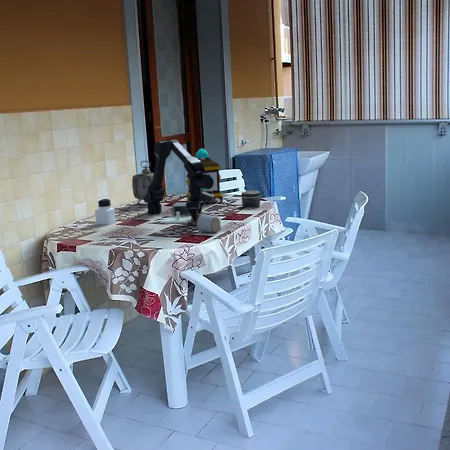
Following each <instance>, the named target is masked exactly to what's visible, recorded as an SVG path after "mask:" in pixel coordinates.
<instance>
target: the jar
mask: <svg viewBox="0 0 450 450" xmlns="http://www.w3.org/2000/svg"><path fill="white" fill-rule="evenodd" d="M240 197H241V204H242V206H243V208H245V207H250V208H249V209H252V208H251V207H254V208H258V206H259V207H260V205H261V192H260V191H259V190H245V191H242V192H241V196H240Z"/></svg>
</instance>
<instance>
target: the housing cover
mask: <svg viewBox="0 0 450 450" xmlns="http://www.w3.org/2000/svg"><path fill="white" fill-rule="evenodd" d="M187 202H188V201H186V202H185V201H182V202H180V201H179V202H176V203H173V204H172V207H171V208H172V214H173V216H175V215H176V212H189V211H188V209H187V208H186V203H187ZM190 215H191V214H190Z"/></svg>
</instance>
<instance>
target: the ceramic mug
mask: <svg viewBox="0 0 450 450" xmlns="http://www.w3.org/2000/svg"><path fill="white" fill-rule="evenodd" d="M196 224H197V229H198V231H200V232H204V233H205V232H206V233H217V232H218V231H219V230H221V228H222V225H221V221H220V218H219V217H217V216H214V215H210V214H209V215H208V214H204V213H203V214H202V215H200V216H199V218H198V222H197V223H196Z"/></svg>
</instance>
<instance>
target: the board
mask: <svg viewBox="0 0 450 450" xmlns="http://www.w3.org/2000/svg"><path fill="white" fill-rule="evenodd" d="M190 222H191V215H190V213H189V212H176V215H175V216H173V213H172V214H171V215H170V216H169V217H167V218H165V220H163V224H166V225H167V224H189V223H190Z"/></svg>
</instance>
